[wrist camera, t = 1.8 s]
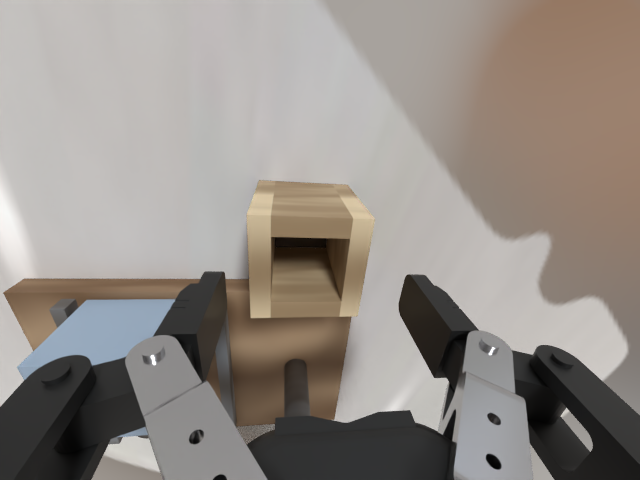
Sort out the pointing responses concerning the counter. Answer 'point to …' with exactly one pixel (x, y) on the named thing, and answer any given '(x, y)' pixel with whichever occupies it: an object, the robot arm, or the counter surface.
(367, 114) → the counter surface
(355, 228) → the collar
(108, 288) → the jig board
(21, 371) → the block
